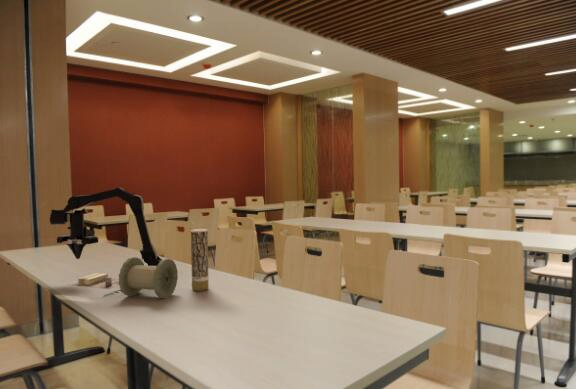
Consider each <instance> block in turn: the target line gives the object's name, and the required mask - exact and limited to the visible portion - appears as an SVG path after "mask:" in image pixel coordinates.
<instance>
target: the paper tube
mask: <svg viewBox="0 0 576 389" xmlns="http://www.w3.org/2000/svg"><path fill="white" fill-rule="evenodd" d="M208 237H209V235H208V229H206V228H195V229H191V230H190V247H191V248H190V250H191V251H190V254H191V255H190V256H191V288H192V290H193V291H195V292H203V291H206V290H208V289H209V287H210V286H209V245H208V244H209V242H208V241H209V239H208Z"/></svg>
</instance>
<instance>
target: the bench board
mask: <svg viewBox="0 0 576 389" xmlns="http://www.w3.org/2000/svg"><path fill="white" fill-rule="evenodd" d="M119 275H120V272H119V273H118V276H119ZM71 286H77V287H85V288H86V287H89V288H98V289H111V288H113V287H116V286H119V278H112V276H108V277H106V278H105V280H104V281H101V282H98V283H95V284H91V285H82V284H78V282H76V283H73V284H71Z"/></svg>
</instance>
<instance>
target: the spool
mask: <svg viewBox="0 0 576 389" xmlns="http://www.w3.org/2000/svg"><path fill="white" fill-rule="evenodd" d="M119 273H120V275H119V274H118V279H119V285H118V286H119V288H120V291H121V293H123V295H124V296H128V297H133V296H136V295H138V294H139V293H140V292H141V291H142V290H152V291H154V293H155V295H156V296H157V298H159V299H165V300H166V299H168V298H170V297H172V295H173V294H174V291H175V290H176V287H177V283H178V279H179V278H178V275H179V274H178V268H177V264H176V262H175V261H174V260H173V259H170V258H164V259H162V260H161V261H160V263H159V264H158V265H157V266H148V265H145V262H144V261H143V259H142V258H139V257H137V256H134V257H129V258H127V259H126V260H125V261H124V262H123V264H122V266H121V268H120V270H119Z"/></svg>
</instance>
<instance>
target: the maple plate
mask: <svg viewBox="0 0 576 389" xmlns="http://www.w3.org/2000/svg"><path fill="white" fill-rule="evenodd" d="M106 277H109V273H101V272H96V273H92V274H90V275H86V276H82V277H78V278H77V283H78V284H82V285H91V284H95V283H98V282H101V281H104V280H105V278H106Z"/></svg>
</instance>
